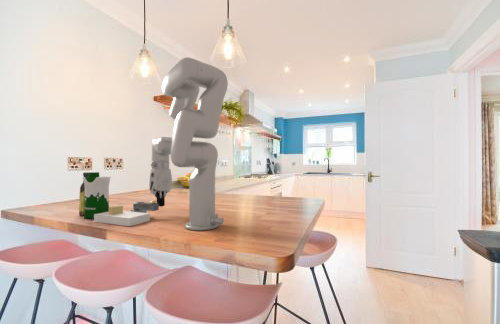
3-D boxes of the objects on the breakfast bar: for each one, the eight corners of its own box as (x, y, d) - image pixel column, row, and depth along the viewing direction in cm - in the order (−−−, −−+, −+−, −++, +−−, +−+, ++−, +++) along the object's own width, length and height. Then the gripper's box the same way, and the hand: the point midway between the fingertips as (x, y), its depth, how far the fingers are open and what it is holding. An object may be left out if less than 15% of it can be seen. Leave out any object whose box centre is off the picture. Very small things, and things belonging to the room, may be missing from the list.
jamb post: (146, 216, 109) (146, 209, 109) (139, 218, 105) (139, 210, 106) (138, 215, 111) (138, 208, 111) (130, 217, 107) (130, 210, 107)
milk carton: (80, 218, 105) (80, 172, 106) (95, 214, 114) (95, 172, 115) (99, 219, 104) (99, 172, 105) (113, 214, 113) (113, 172, 114)
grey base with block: (149, 220, 101) (149, 206, 101) (129, 226, 92) (129, 210, 92) (115, 216, 109) (115, 203, 109) (94, 221, 100) (94, 207, 100)
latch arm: (131, 209, 107) (131, 200, 107) (139, 208, 111) (139, 199, 111) (152, 211, 102) (152, 201, 102) (159, 209, 106) (159, 200, 106)
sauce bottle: (83, 216, 111) (84, 172, 111) (75, 215, 114) (75, 172, 114) (98, 213, 117) (98, 172, 117) (90, 212, 119) (90, 172, 120)
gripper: (154, 166, 103) (154, 209, 103) (178, 165, 117) (178, 204, 117) (141, 166, 106) (141, 208, 106) (165, 165, 120) (165, 203, 120)
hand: (160, 206), depth 111 cm, fingers closed
